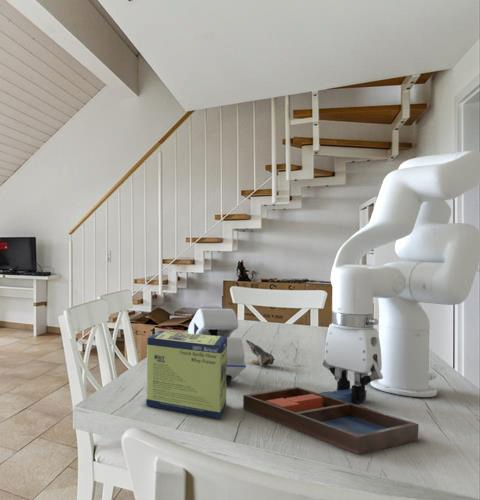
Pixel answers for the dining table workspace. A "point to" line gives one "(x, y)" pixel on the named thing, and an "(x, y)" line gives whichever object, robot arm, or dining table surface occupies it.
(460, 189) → the robot arm
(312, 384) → the dining table surface
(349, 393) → the blue tall stepped post
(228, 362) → the robotic device
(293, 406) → the orange stepped bar
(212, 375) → the protein box
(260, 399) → the cutlery tray
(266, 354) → the shark head
